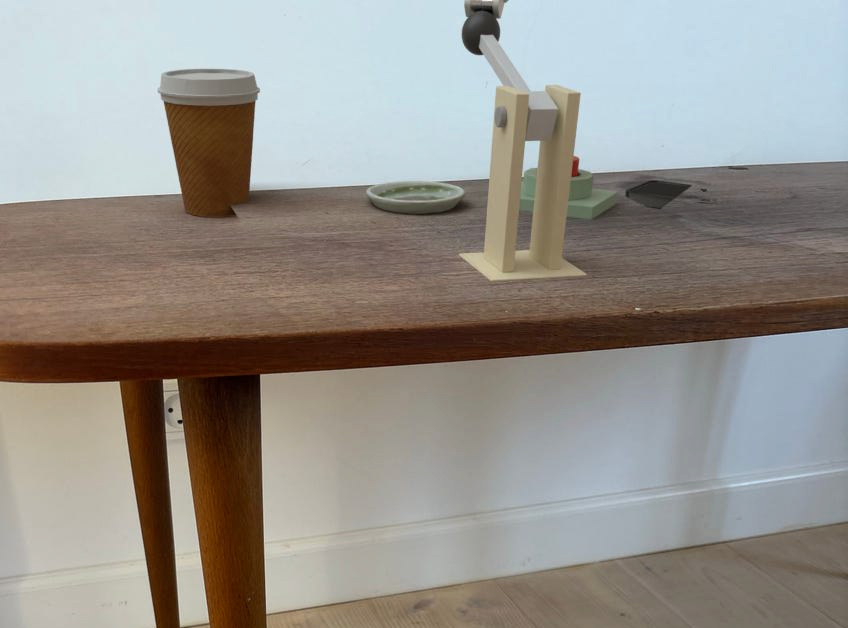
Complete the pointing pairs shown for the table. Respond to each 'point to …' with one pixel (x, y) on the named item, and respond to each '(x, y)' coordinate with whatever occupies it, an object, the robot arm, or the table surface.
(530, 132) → the control lever
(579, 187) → the control block
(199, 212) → the disposable coffee cup
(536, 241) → the lever bracket
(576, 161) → the button
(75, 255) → the table surface
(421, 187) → the saucer
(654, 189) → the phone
